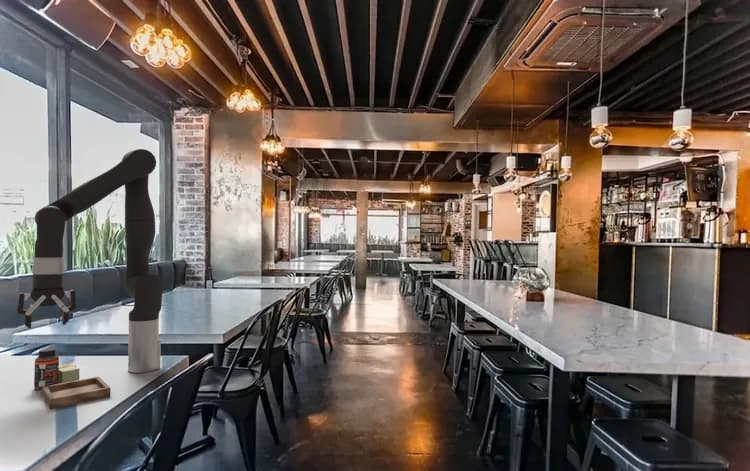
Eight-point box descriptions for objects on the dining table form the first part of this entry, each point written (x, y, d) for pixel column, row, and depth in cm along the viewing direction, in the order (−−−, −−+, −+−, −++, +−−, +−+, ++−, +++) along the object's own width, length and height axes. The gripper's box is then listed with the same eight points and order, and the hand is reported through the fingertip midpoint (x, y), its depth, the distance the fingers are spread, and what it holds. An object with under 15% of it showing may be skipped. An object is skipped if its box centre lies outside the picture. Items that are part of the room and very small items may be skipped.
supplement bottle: (45, 391, 131) (46, 352, 131) (28, 389, 132) (29, 351, 132) (63, 384, 137) (64, 347, 137) (47, 383, 138) (47, 346, 138)
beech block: (75, 375, 147) (75, 362, 147) (75, 378, 143) (75, 365, 143) (57, 377, 144) (57, 365, 144) (56, 381, 141) (56, 368, 141)
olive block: (79, 368, 139) (79, 382, 139) (74, 365, 142) (73, 380, 142) (62, 371, 135) (62, 386, 135) (57, 369, 138) (57, 383, 138)
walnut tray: (98, 384, 137) (98, 376, 137) (110, 396, 127) (110, 387, 127) (42, 395, 127) (42, 386, 127) (49, 409, 117) (50, 399, 117)
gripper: (74, 271, 142) (72, 321, 142) (17, 272, 133) (15, 327, 132) (78, 272, 137) (77, 325, 137) (19, 274, 127) (17, 330, 127)
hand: (46, 326), depth 134 cm, fingers open, 8 cm apart
